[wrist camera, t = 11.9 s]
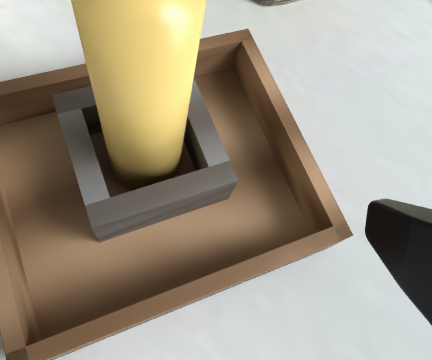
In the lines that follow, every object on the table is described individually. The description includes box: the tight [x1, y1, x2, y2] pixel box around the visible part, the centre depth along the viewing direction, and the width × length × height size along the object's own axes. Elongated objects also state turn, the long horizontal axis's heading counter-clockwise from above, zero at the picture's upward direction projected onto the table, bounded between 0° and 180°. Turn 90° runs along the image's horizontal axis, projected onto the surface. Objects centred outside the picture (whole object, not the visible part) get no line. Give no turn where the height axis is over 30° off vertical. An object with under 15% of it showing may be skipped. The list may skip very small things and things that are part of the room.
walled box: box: [0, 29, 353, 360], centre depth 22 cm, size 14×17×4 cm
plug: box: [71, 0, 206, 191], centre depth 17 cm, size 4×4×13 cm
